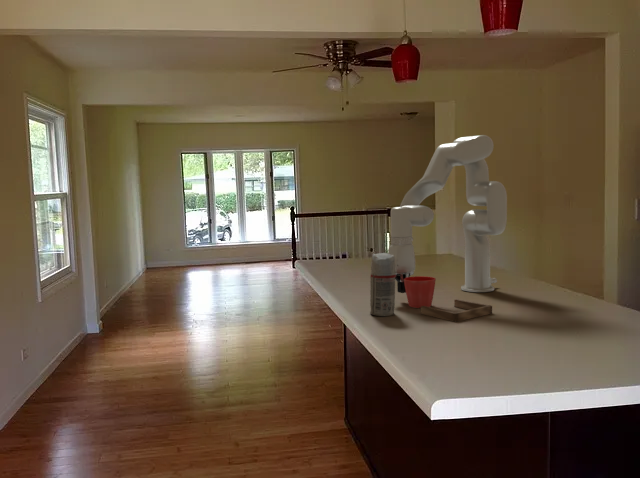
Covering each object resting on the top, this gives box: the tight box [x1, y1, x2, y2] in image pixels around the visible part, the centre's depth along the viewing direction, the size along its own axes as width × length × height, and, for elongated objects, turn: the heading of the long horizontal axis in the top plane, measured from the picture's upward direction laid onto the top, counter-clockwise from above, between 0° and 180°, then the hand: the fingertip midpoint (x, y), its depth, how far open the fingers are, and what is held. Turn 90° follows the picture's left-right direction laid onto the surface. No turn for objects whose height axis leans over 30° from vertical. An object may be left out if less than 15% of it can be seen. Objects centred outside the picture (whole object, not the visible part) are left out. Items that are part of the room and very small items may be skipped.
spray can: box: [369, 252, 396, 317], centre depth 188 cm, size 8×8×20 cm
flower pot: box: [404, 275, 436, 309], centre depth 200 cm, size 11×11×10 cm
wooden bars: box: [420, 298, 493, 323], centre depth 187 cm, size 17×15×2 cm
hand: (402, 292), depth 207 cm, fingers closed
